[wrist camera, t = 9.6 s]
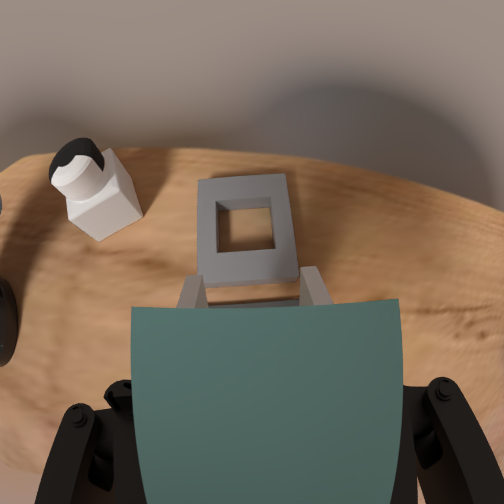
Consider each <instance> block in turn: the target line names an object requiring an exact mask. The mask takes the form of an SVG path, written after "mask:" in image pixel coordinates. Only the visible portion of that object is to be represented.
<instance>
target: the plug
mask: <svg viewBox="0 0 504 504" xmlns="http://www.w3.org/2000/svg"><path fill="white" fill-rule="evenodd" d="M131 384H132V402H133V415H134V426H135V435H136V443H137V451H138V458H139V464H140V470H141V476H142V481H143V487H144V491H145V496H146V501H147V504H390V501H391V496H392V491H393V486H394V481H395V475H396V468H397V462H398V454H399V445H400V436H401V423H402V405H403V352H402V333H401V320H400V309H399V300H398V299H389V300H379V301H368V302H357V303H344V304H330V305H313V306H294V307H268V308H153V307H132V311H131Z"/></svg>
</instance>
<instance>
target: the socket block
mask: <svg viewBox="0 0 504 504" xmlns="http://www.w3.org/2000/svg"><path fill="white" fill-rule="evenodd" d="M265 207H270V215H271V225H272V234H273V244H274V249H265V250H252V251H238V252H224V253H220V250H219V216H218V211H225V210H237V209H250V208H265ZM197 274H198V275H203V281H204V286H205V288H215V287H231V286H246V285H259V284H272V283H284V282H296V281H297V279H298V278H299V269H298V260H297V252H296V245H295V237H294V229H293V222H292V215H291V208H290V201H289V195H288V188H287V182H286V176H285V173H281V174H262V175H247V176H234V177H222V178H212V179H202V180H198V203H197Z"/></svg>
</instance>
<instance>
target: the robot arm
mask: <svg viewBox="0 0 504 504" xmlns="http://www.w3.org/2000/svg"><path fill="white" fill-rule="evenodd" d="M1 211H2V200H1V196H0V214H1ZM330 304H333V301H332V299H331V297H330V295H329V293H328V290H327V288H326V286H325V284H324V282H323V280H322V277H321V275H320V273H319V271H318V269H317V267H316V266H308V267H300V298H299V306H313V305H330ZM177 308H209V307H208V302H207V297H206V292H205V286H204V281H203V275H187V276H186V279H185V282H184V285H183V289H182V292H181V295H180V298H179V301H178V304H177ZM16 337H17V309H16V303H15V298H14V295H13V292H12V289H11V287H10V285H9V284H8V282H7V281H6V280H5V279H3V278H2V277H0V367H2V366H4V365H6V364H7V363H8V362H9V360H10V358H11V356H12V354H13V351H14V348H15V343H16ZM104 399H105V400H106V401H107V403H108V404H109V405H110V406H111V408H110V409H103V410H96V411H93V410H92V408H91V407H90V406H89V405H86V404H84V403H78V404H75V405H72V406H71V407H70V408H68V409H67V411H66V413H65V414H64V417H63V419H62V421H61V424H60V426H59V429H58V432H57V434H56V437H55V439H54V442H53V445H52V448H51V451H50V453H49V456H48V459H47V462H46V465H45V468H44V472H43V475H42V478H41V482H40V485H39V489H38V492H37V496H36V500H35V504H147V501H146V496H145V491H144V487H143V481H142V476H141V470H140V464H139V458H138V451H137V443H136V435H135V426H134V415H133V402H132V384H131V380H120V381H116V382H115V383H113V384H112V385H110V386H109V387H108V389H107V390H106V391H105V394H104ZM417 477H418V480H419V483H420V486H421V490H422V493H423V496H424V499H425V502H426V504H504V478H503V476H502V473H501V470H500V468H499V466H498V463H497V461H496V459H495V456H494V454H493V452H492V450H491V447H490V445H489V443H488V441H487V439H486V437H485V435H484V433H483V431H482V429H481V427H480V425H479V423H478V421H477V419H476V417H475V415H474V413H473V411H472V410H471V408H470V406H469V404H468V402H467V401H466V399H465V397H464V395H463V393H462V392H461V390H460V388H459V387H458V385H457V384H456V383H455V382H454V381H453V380H451V379H449V378H446V377H438V378H435V379H434V380H432V381H431V382H430V384H429V386H426V387H411V386H404V385H403V405H402V423H401V436H400V445H399V454H398V462H397V468H396V475H395V481H394V486H393V491H392V496H391V501H390V504H418V490H417Z"/></svg>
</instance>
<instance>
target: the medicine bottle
mask: <svg viewBox="0 0 504 504" xmlns="http://www.w3.org/2000/svg"><path fill="white" fill-rule="evenodd" d="M49 180H50V182H51V184H52V185H54V186H55V187H56V188H57V189H58V190H59V191H60V192H61V193H62V194H63V195H64V196H66V203H67V211H68V219H69V221H70V222H72V223H73V224H74V225H76V226H77V227H78V228H80V229H81V230H82V231H84V232H85V233H86V234H88V235H89V236H91V237H92V238H93V239H95V240H96V241H98V242H100V241H101V240H103V239H105V238H107V237H108V236H110V235H112V234H114V233H116V232H117V231H119V230H121V229H123V228H125V227H126V226H128V225H130V224H132V223H134V222H136V221H138V220H139V219H141V218H142V217H143V214H142V211H141V208H140V204H139V201H138V198H137V195H136V192H135V189H134V185H133V182H132V179H131V177H130V175H129V174H128V172H127V171H126V170H125V168H124V167H123V165H122V164H121V162H120V161H119V159H118V158H117V156H116V155H115V153H114V152H113V150H112V149H111V148H108V149H107V150H105V151H103V152H100V151H99V150H98V148H97V147H96V145H95V144H94V143H93V141H92V140H91V139H88V138H78V139H75V140H73V141H71V142H69V143H67V144H66V145H65V146H64V147H62V149H61V150H60V151H59V152H58V153H57V154H56V156H55V157H54V159H53V161H52V163H51V165H50V169H49Z"/></svg>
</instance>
